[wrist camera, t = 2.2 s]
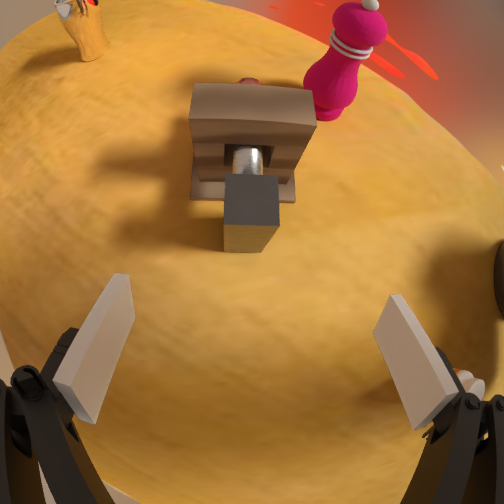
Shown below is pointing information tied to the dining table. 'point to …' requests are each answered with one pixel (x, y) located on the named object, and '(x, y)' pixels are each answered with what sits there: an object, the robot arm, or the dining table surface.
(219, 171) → the wooden arch frame
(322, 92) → the pepper mill
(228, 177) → the metal rod with plate
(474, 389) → the supplement bottle
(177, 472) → the dining table surface
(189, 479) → the dining table surface
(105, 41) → the beer glass
